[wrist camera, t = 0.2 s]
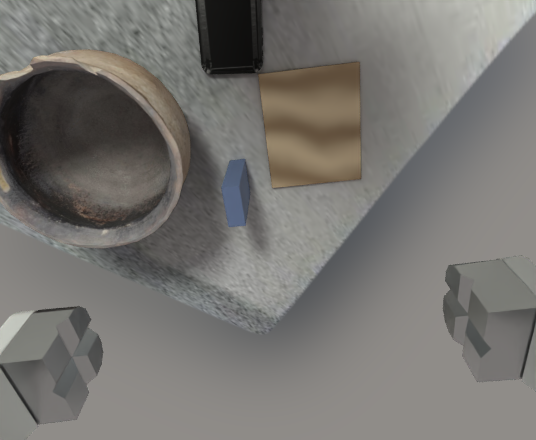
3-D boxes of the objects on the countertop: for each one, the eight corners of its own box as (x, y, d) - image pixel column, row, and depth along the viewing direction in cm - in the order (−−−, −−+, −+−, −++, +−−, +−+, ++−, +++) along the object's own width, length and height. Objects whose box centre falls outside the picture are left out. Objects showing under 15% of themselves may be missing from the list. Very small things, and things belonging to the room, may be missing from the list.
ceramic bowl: (180, 29, 50) (145, 35, 36) (219, 188, 60) (202, 239, 46) (15, 60, 52) (-75, 76, 38) (79, 208, 62) (24, 263, 48)
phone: (202, 74, 51) (188, -68, 44) (203, 73, 52) (190, -66, 45) (263, 72, 51) (259, -71, 44) (263, 71, 52) (259, -69, 45)
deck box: (229, 160, 57) (221, 187, 49) (244, 158, 57) (239, 185, 48) (235, 195, 60) (228, 227, 51) (250, 193, 60) (245, 225, 51)
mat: (258, 74, 52) (258, 74, 52) (359, 61, 51) (359, 62, 51) (272, 187, 59) (272, 188, 59) (360, 177, 58) (361, 178, 58)
